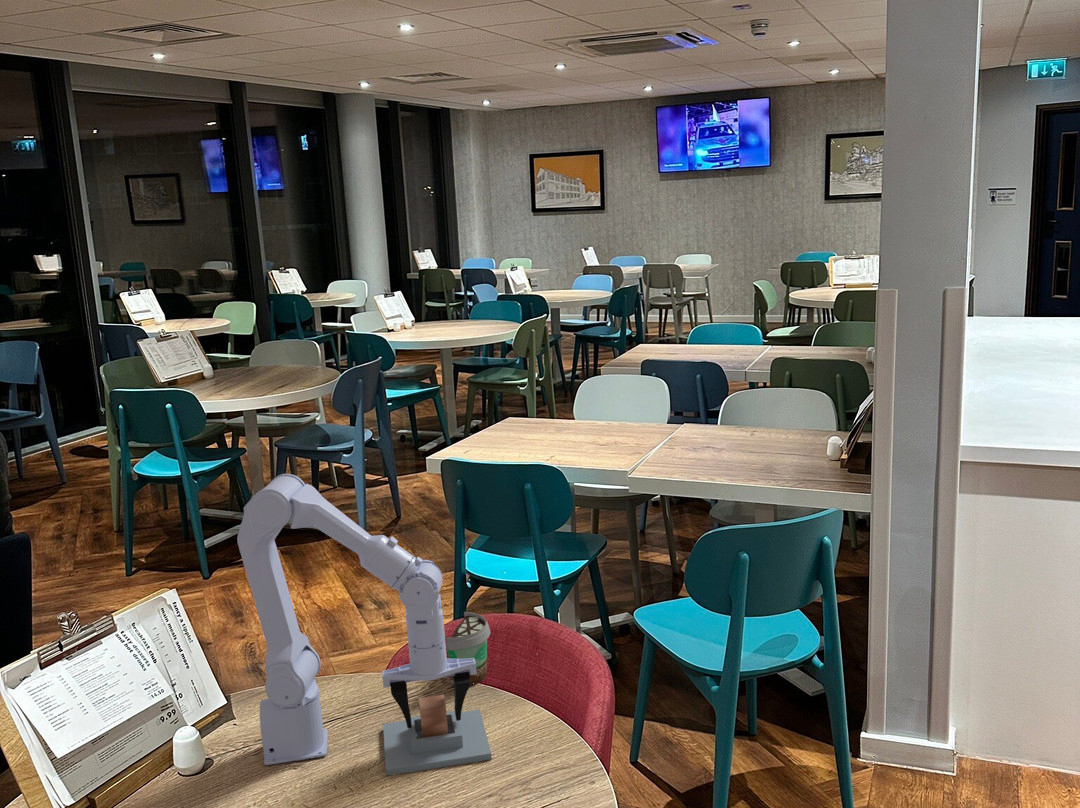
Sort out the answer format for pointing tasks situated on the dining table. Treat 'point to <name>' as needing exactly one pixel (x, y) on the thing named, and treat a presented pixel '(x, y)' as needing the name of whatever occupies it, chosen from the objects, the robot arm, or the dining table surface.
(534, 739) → the dining table surface
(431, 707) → the terracotta block
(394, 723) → the base board
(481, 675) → the food container
